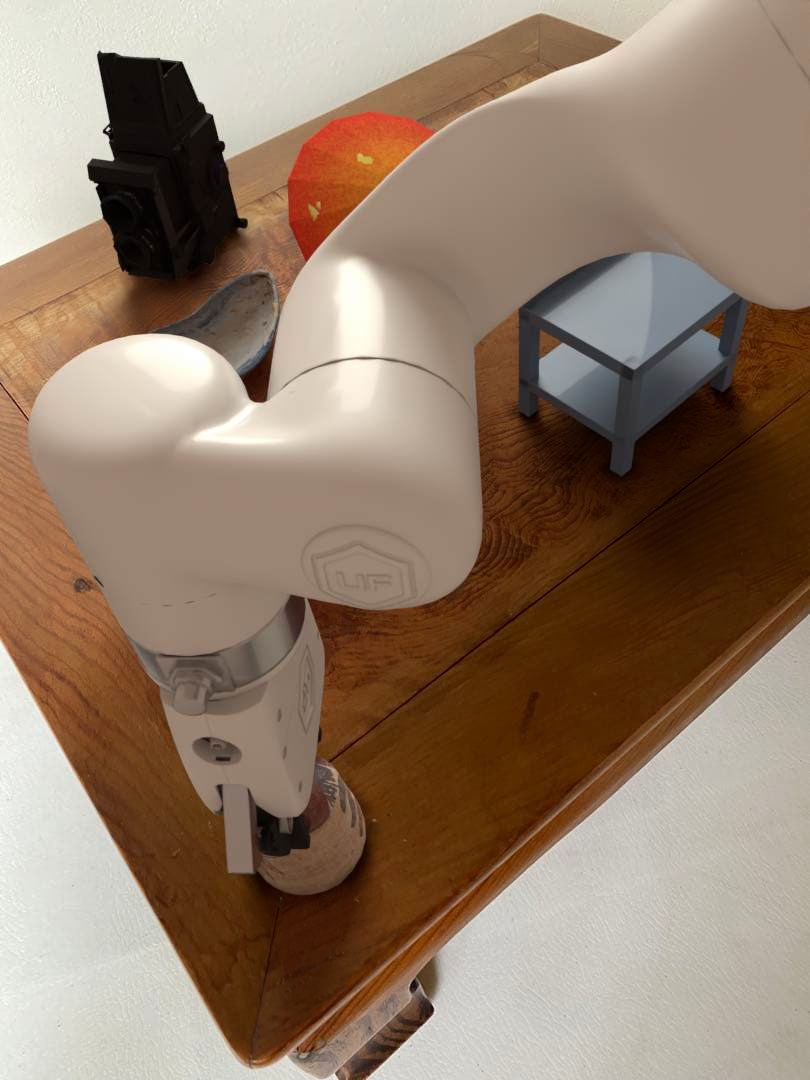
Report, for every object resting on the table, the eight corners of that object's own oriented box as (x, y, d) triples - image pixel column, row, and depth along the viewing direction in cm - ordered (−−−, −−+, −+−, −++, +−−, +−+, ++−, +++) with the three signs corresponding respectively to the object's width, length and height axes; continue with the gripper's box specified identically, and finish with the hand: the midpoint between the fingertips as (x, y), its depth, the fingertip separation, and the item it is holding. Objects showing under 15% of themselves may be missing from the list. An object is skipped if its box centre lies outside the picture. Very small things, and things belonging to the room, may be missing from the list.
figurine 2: (319, 764, 64) (283, 669, 55) (391, 841, 60) (366, 755, 51) (230, 838, 62) (177, 753, 52) (300, 924, 58) (256, 849, 48)
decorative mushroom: (406, 194, 104) (533, 209, 97) (306, 341, 97) (435, 369, 90) (356, 68, 92) (497, 73, 85) (239, 225, 85) (381, 246, 78)
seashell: (171, 310, 96) (156, 266, 92) (297, 311, 94) (287, 267, 90) (124, 422, 86) (105, 379, 82) (263, 425, 84) (251, 381, 81)
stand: (730, 385, 83) (760, 253, 72) (621, 477, 77) (637, 347, 67) (626, 329, 88) (640, 198, 78) (518, 410, 83) (518, 282, 73)
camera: (105, 290, 99) (27, 93, 83) (172, 213, 106) (112, 20, 91) (192, 306, 96) (129, 105, 80) (254, 226, 103) (207, 29, 88)
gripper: (276, 797, 36) (342, 949, 50) (321, 454, 47) (365, 658, 61) (77, 796, 37) (197, 946, 51) (167, 458, 47) (245, 659, 61)
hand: (288, 788), depth 56 cm, fingers closed on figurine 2, 5 cm apart
